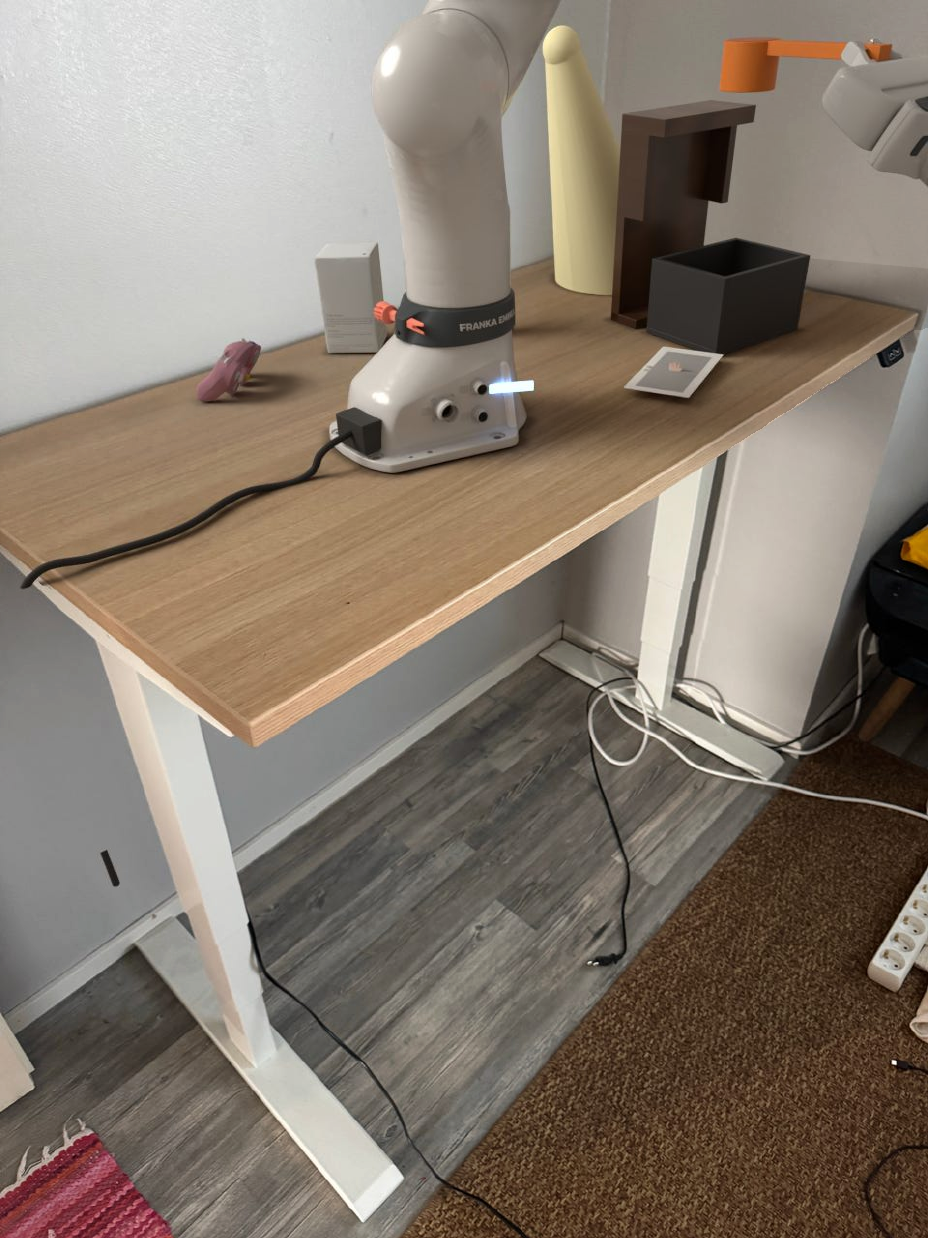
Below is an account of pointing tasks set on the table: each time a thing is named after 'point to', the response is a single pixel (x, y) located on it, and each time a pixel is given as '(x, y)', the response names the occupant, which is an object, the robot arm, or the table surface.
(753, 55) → the orange croquet mallet
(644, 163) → the shelf stand
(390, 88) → the robot arm
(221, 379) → the video game controller
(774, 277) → the basket
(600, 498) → the table surface
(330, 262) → the white packaging box
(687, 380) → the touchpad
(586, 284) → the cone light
